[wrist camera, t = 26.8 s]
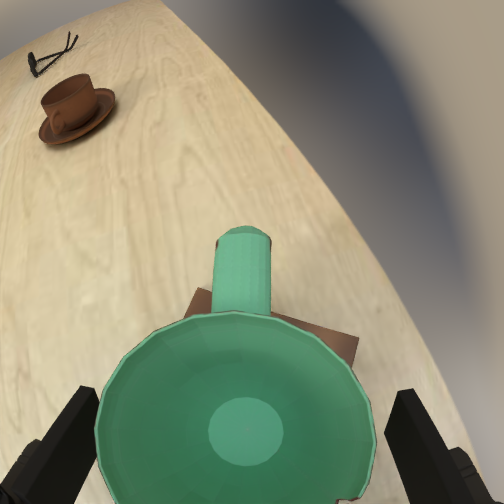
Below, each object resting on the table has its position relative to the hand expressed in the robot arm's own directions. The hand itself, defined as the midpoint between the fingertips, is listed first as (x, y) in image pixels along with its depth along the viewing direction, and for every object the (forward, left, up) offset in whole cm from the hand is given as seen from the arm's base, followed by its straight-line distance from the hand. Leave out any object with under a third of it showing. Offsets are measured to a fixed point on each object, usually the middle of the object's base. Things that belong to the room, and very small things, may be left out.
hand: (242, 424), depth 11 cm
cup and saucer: (+34, -24, -8) cm, 42 cm away
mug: (+1, -2, -7) cm, 7 cm away
